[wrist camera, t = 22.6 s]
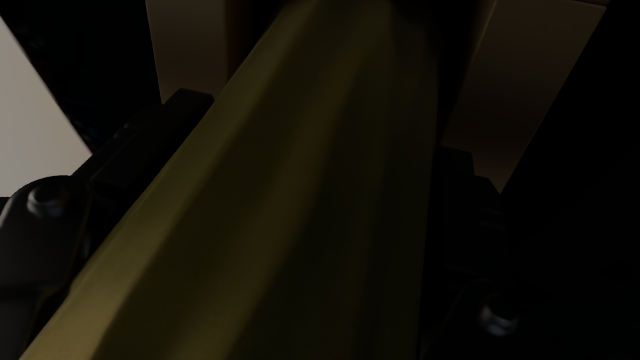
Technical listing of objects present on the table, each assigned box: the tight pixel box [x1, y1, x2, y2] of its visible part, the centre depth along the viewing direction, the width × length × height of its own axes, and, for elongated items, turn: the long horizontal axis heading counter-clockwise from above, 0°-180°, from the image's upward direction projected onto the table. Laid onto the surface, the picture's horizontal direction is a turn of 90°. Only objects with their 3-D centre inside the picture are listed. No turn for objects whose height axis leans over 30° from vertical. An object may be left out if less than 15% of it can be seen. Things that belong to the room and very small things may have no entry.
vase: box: [19, 0, 445, 360], centre depth 9 cm, size 6×6×14 cm
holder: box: [145, 0, 611, 194], centre depth 17 cm, size 22×12×4 cm, turn 173°
